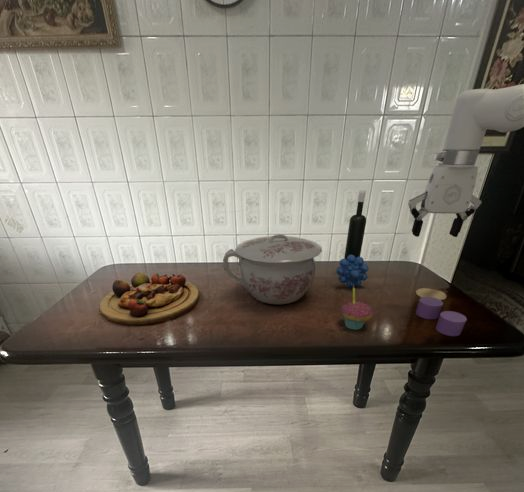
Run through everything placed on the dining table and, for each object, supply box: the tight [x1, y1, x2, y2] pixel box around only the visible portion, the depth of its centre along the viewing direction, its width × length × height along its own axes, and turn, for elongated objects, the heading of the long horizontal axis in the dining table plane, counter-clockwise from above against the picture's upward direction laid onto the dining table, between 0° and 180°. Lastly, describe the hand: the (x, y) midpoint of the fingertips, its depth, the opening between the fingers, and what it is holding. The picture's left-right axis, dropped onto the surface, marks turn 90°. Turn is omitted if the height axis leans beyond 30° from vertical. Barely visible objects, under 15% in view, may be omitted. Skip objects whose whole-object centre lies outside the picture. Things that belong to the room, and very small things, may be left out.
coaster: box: [415, 287, 448, 302], centre depth 103 cm, size 10×10×1 cm
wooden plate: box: [98, 271, 201, 325], centre depth 99 cm, size 32×32×8 cm
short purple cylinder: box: [435, 310, 468, 337], centre depth 83 cm, size 6×6×4 cm
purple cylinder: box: [415, 297, 444, 320], centre depth 91 cm, size 6×6×4 cm
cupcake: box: [340, 285, 373, 331], centre depth 84 cm, size 9×8×12 cm
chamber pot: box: [222, 233, 323, 305], centre depth 98 cm, size 28×28×21 cm
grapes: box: [335, 255, 369, 289], centre depth 105 cm, size 12×7×12 cm, turn 93°
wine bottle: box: [343, 189, 367, 260], centre depth 111 cm, size 6×6×30 cm
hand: (434, 235), depth 80 cm, fingers open, 9 cm apart
